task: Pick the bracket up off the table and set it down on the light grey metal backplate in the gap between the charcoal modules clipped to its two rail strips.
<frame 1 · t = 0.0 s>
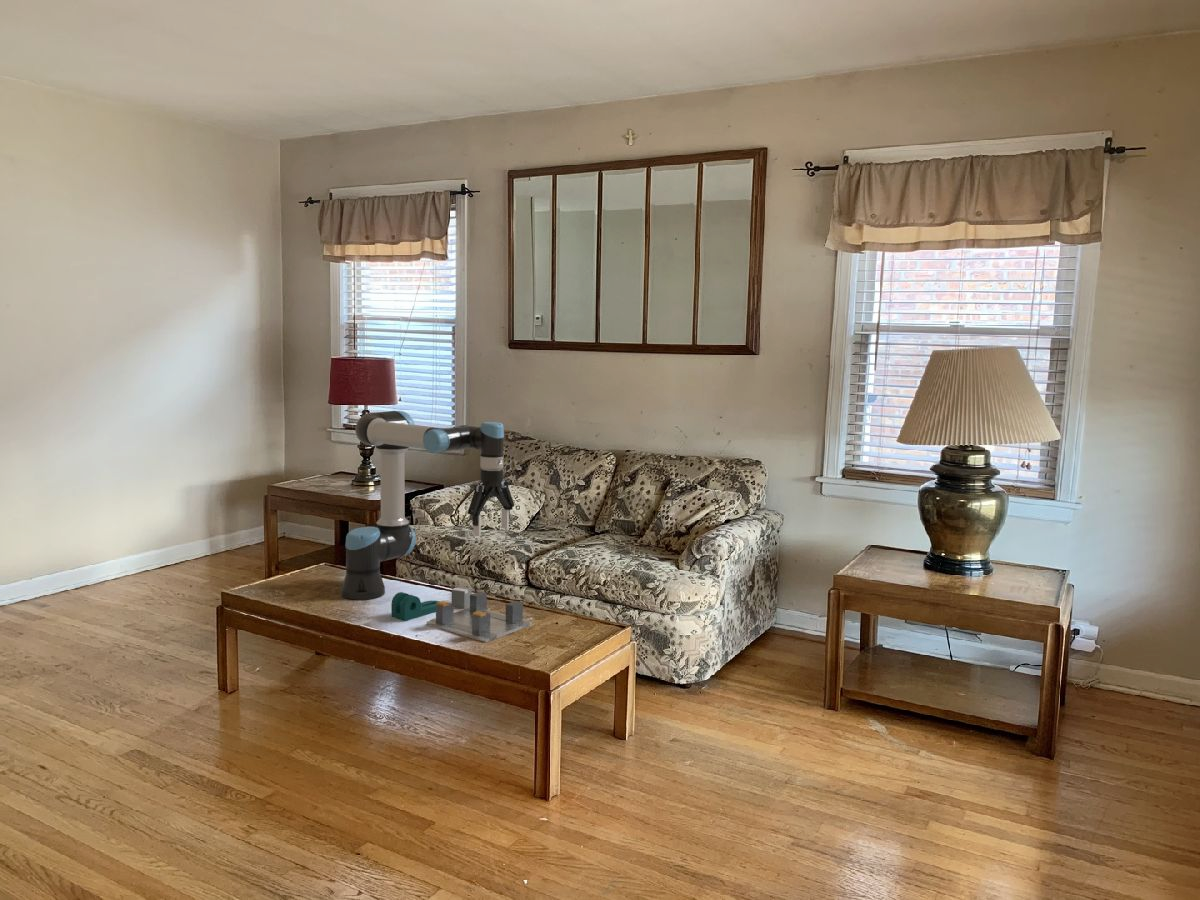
hand: (491, 531, 305), 28 cm above the table, fingers open, 13 cm apart
rail board: (479, 624, 296), on the table
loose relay: (461, 605, 316), on the table
bracket: (419, 614, 307), on the table
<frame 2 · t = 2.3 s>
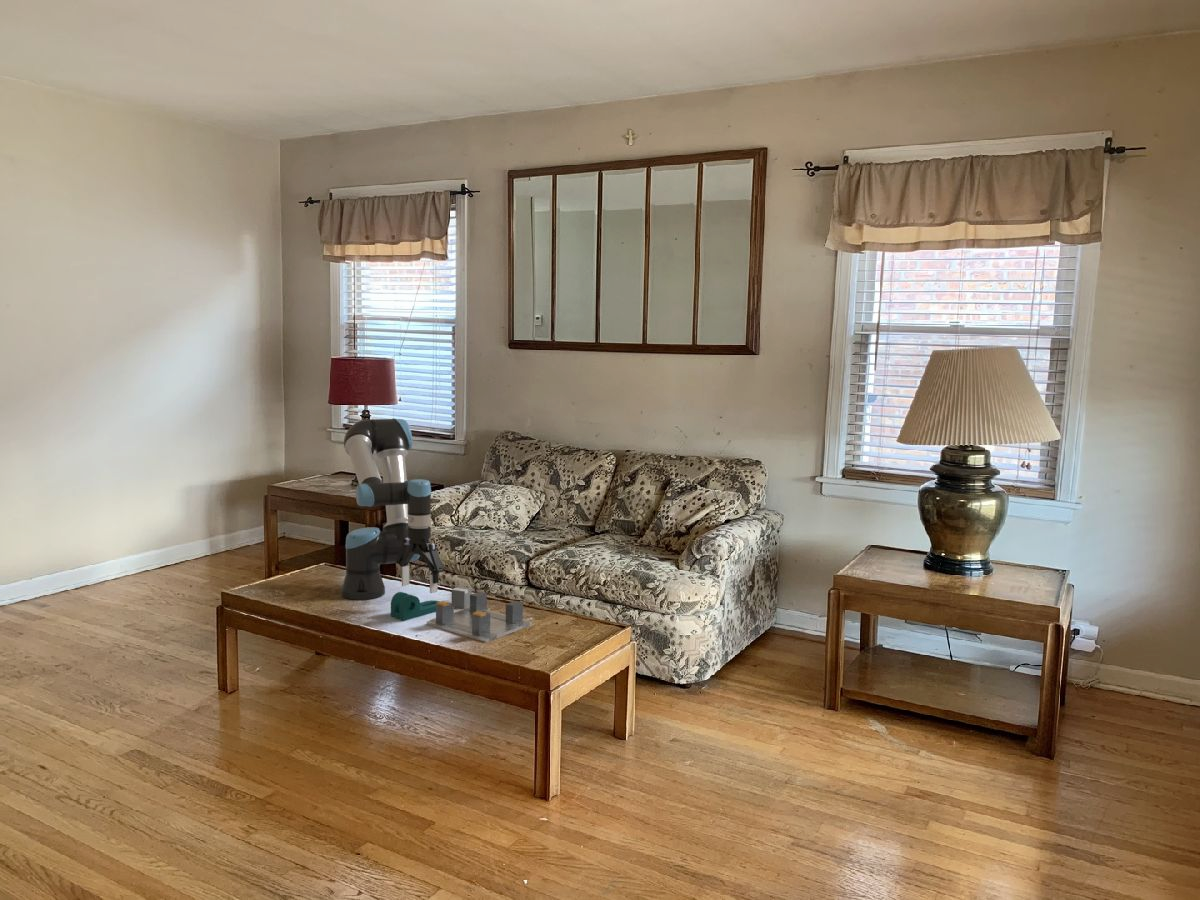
hand: (419, 588, 306), 8 cm above the table, fingers open, 13 cm apart
nothing on the table moved.
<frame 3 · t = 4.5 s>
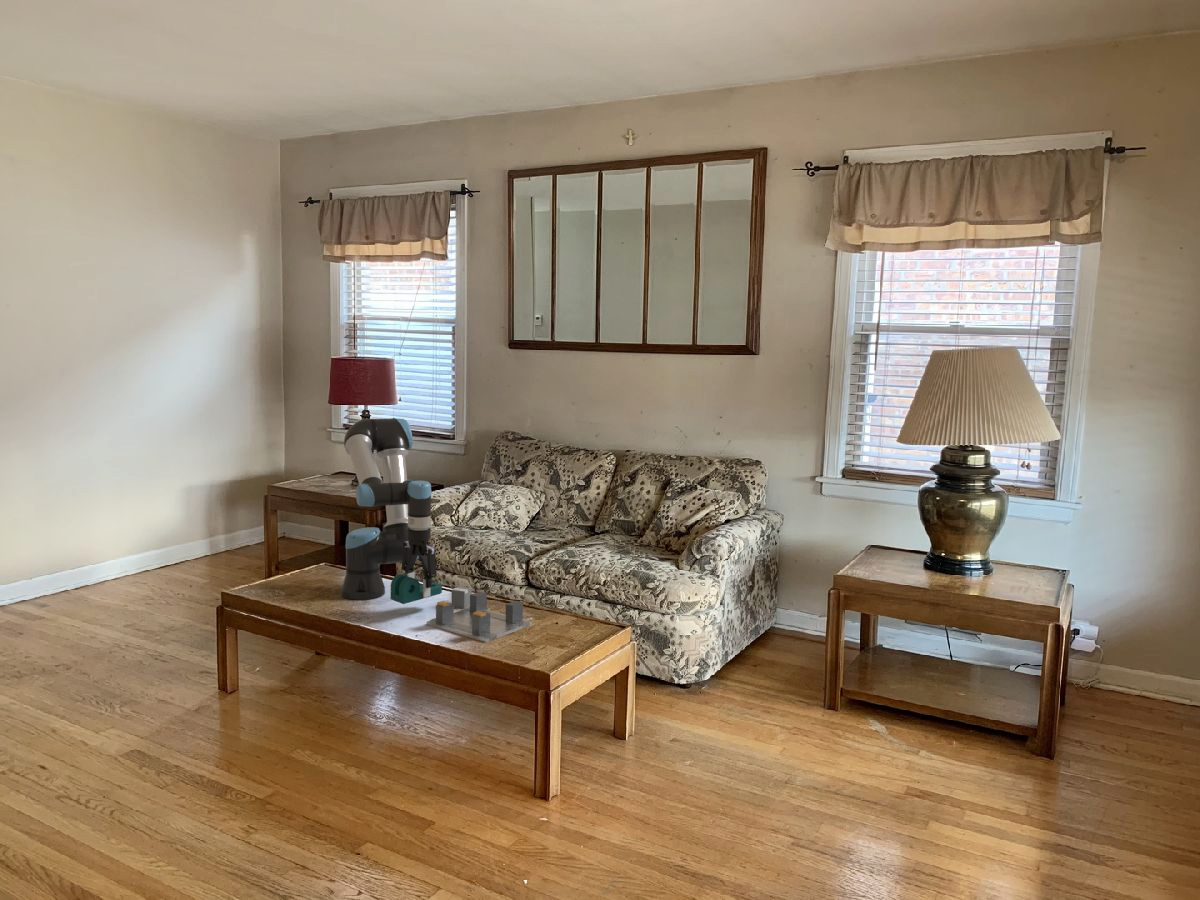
hand: (418, 594, 307), 6 cm above the table, fingers closed on bracket, 7 cm apart
bracket: (418, 596, 307), point 5 cm above the table, touching gripper
everything else where it was.
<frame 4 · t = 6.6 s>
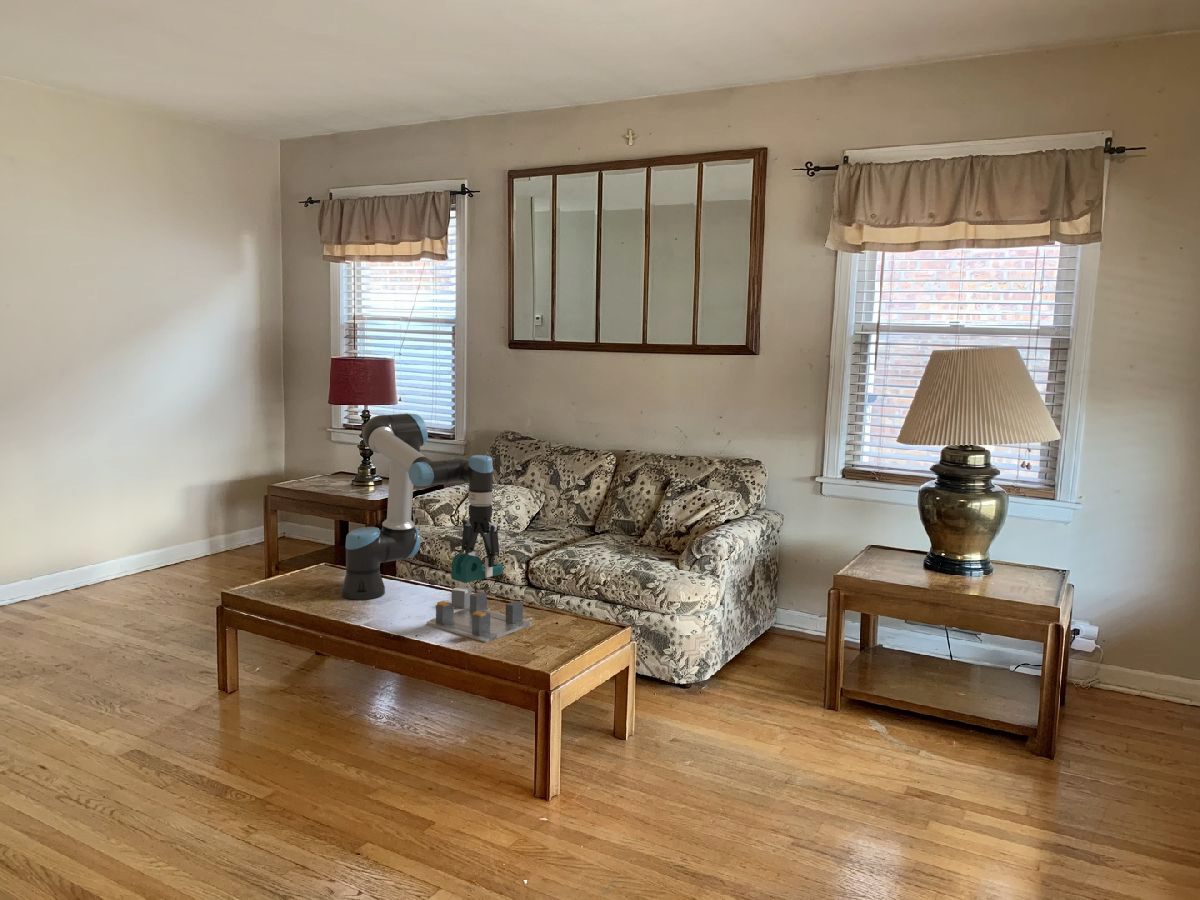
hand: (480, 574, 294), 17 cm above the table, fingers closed on bracket, 7 cm apart
bracket: (479, 576, 294), point 16 cm above the table, touching gripper
everything else where it was.
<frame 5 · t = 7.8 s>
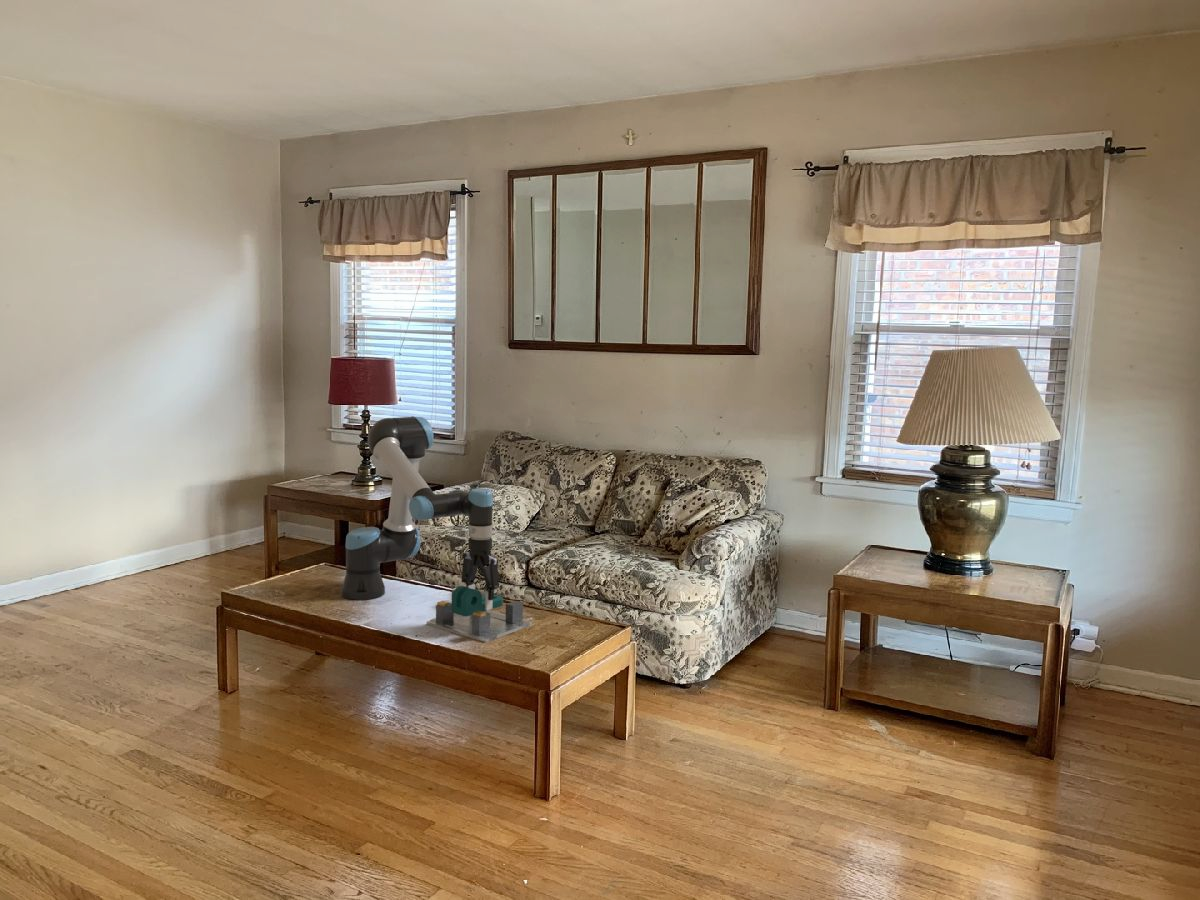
hand: (479, 606, 296), 6 cm above the table, fingers closed on bracket, 7 cm apart
bracket: (479, 608, 296), point 5 cm above the table, touching gripper
everything else where it was.
when the fingers open (2 cm above the table, at t = 8.7 s): bracket stays where it is, resting on rail board.
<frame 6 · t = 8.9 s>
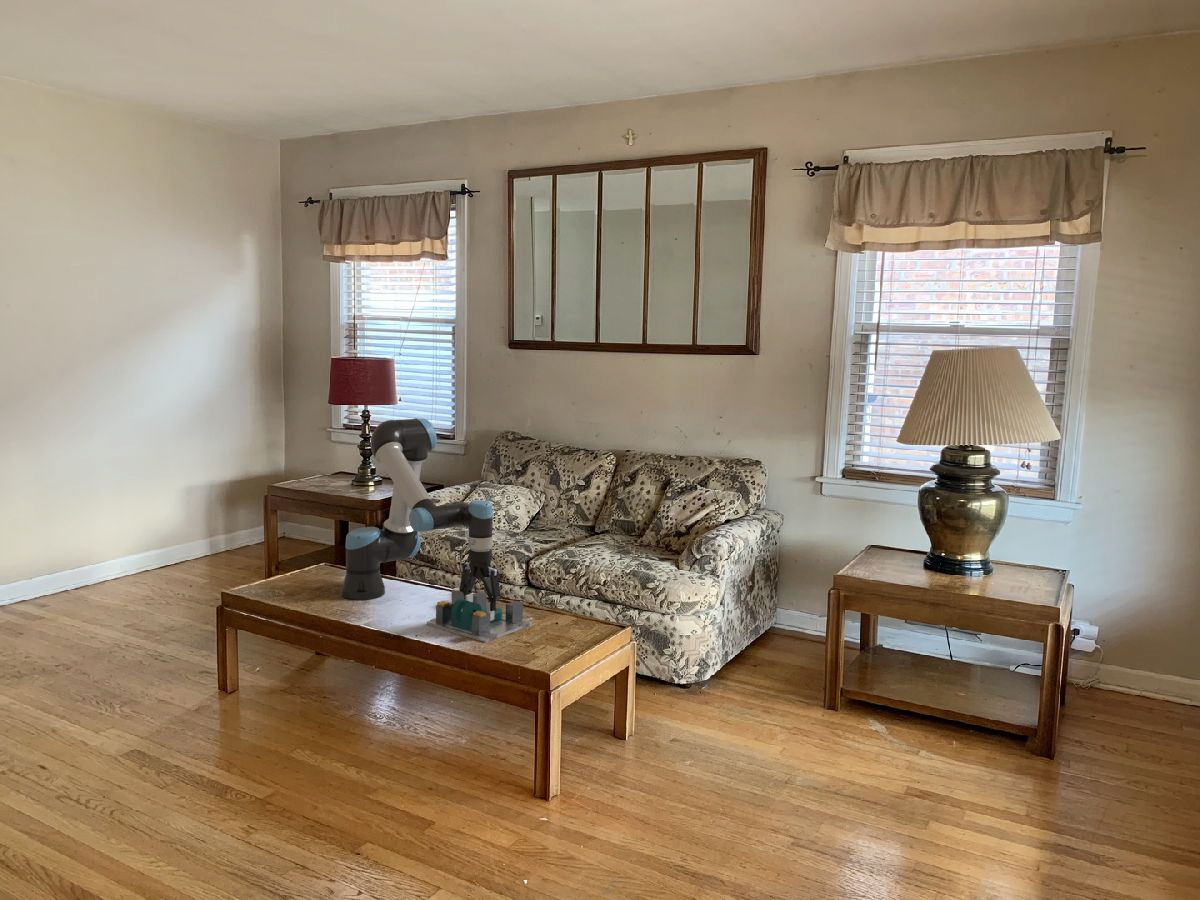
hand: (479, 617, 296), 3 cm above the table, fingers open, 9 cm apart
bracket: (479, 621, 296), point 1 cm above the table, touching rail board
everything else where it was.
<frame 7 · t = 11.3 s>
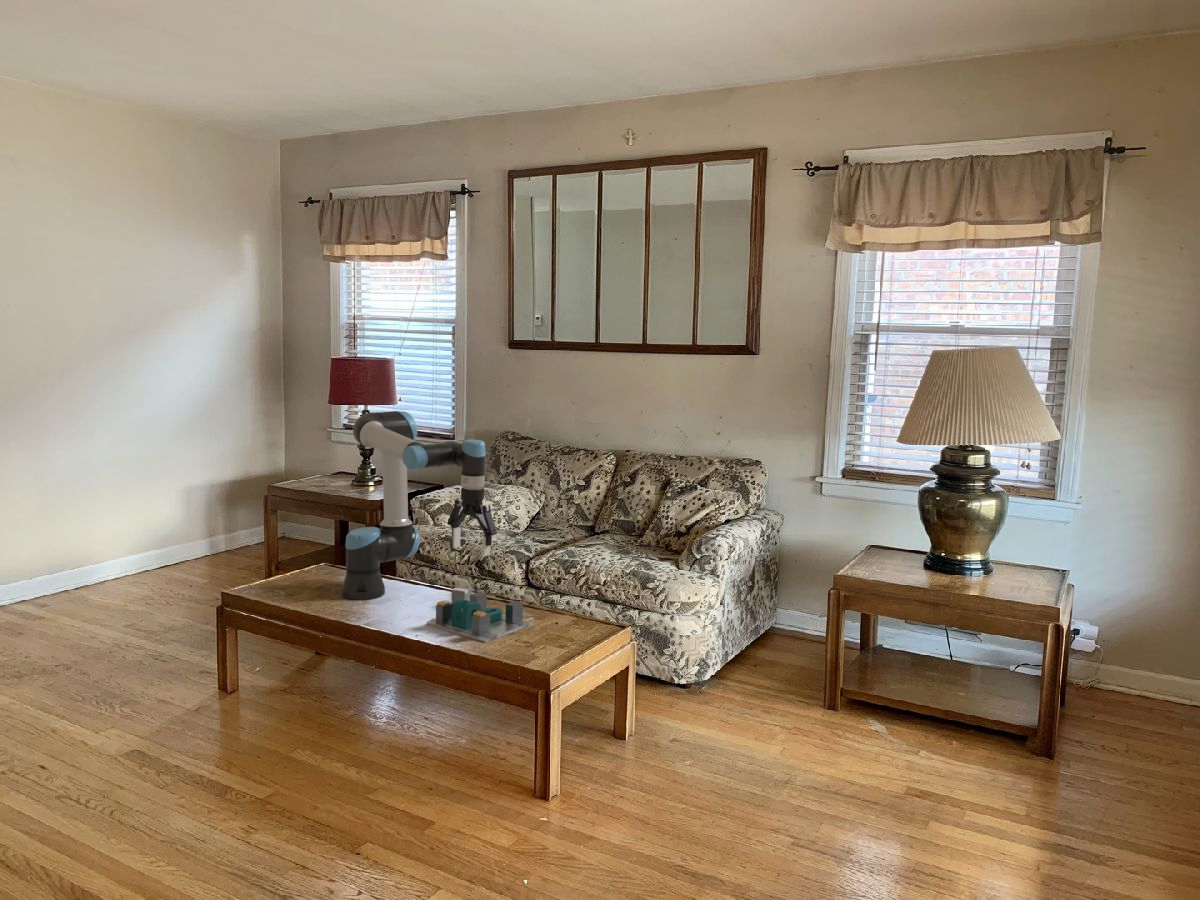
hand: (471, 551, 300), 23 cm above the table, fingers open, 13 cm apart
nothing on the table moved.
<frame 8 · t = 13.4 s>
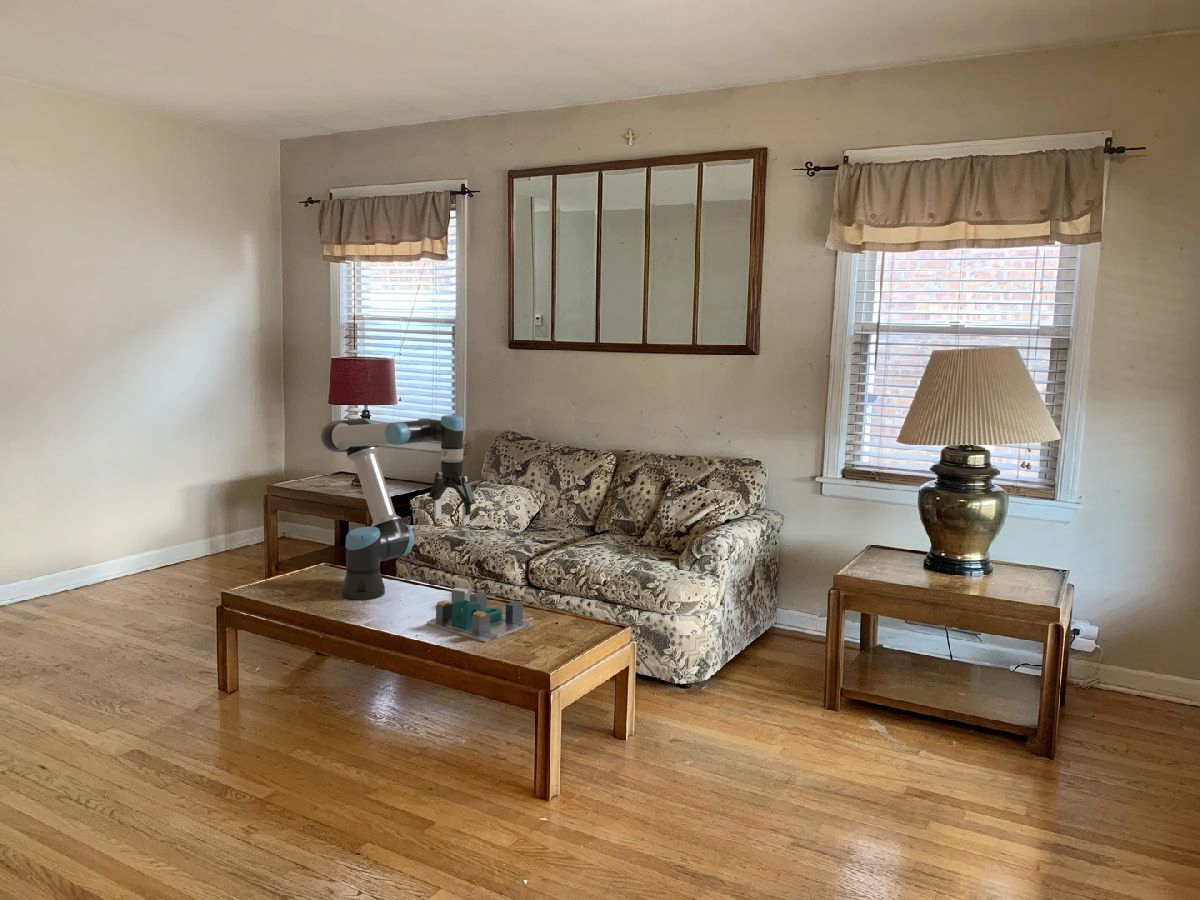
hand: (451, 521, 317), 29 cm above the table, fingers open, 13 cm apart
nothing on the table moved.
at the end: bracket inside the target area on the rail board (0.1 cm from its centre), point 1.0 cm above the rail board's base; bracket tilted 0°; the gripper is holding nothing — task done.
